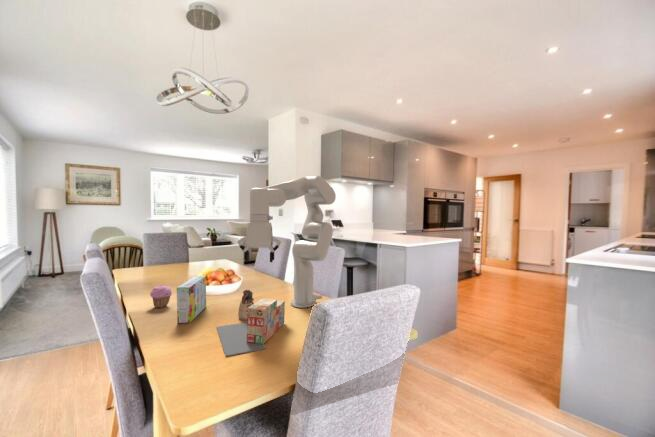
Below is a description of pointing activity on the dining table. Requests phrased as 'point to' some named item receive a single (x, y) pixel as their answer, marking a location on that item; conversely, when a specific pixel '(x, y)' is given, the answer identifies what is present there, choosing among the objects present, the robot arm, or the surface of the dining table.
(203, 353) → the dining table surface
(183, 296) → the snack box
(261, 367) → the dining table surface
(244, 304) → the figurine
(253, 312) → the stack of blocks
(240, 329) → the mat
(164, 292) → the cupcake
